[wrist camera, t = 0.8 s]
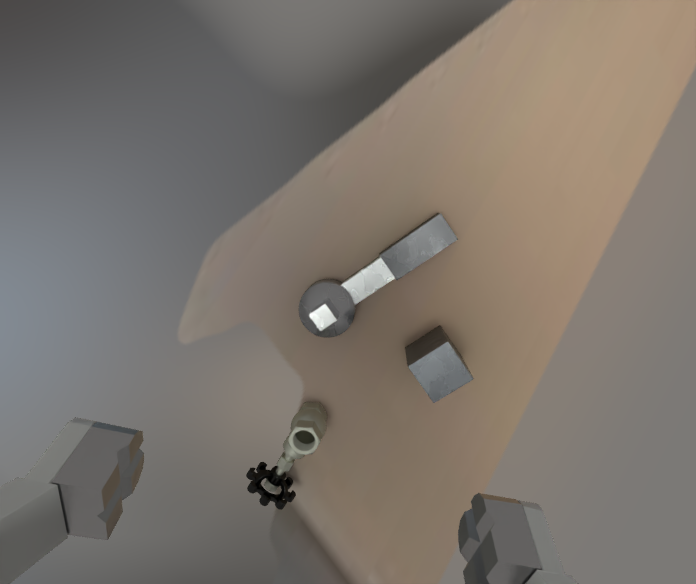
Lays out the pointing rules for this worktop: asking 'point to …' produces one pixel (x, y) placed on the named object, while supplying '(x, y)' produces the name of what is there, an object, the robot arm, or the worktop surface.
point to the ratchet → (370, 278)
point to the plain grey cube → (437, 364)
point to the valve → (290, 455)
